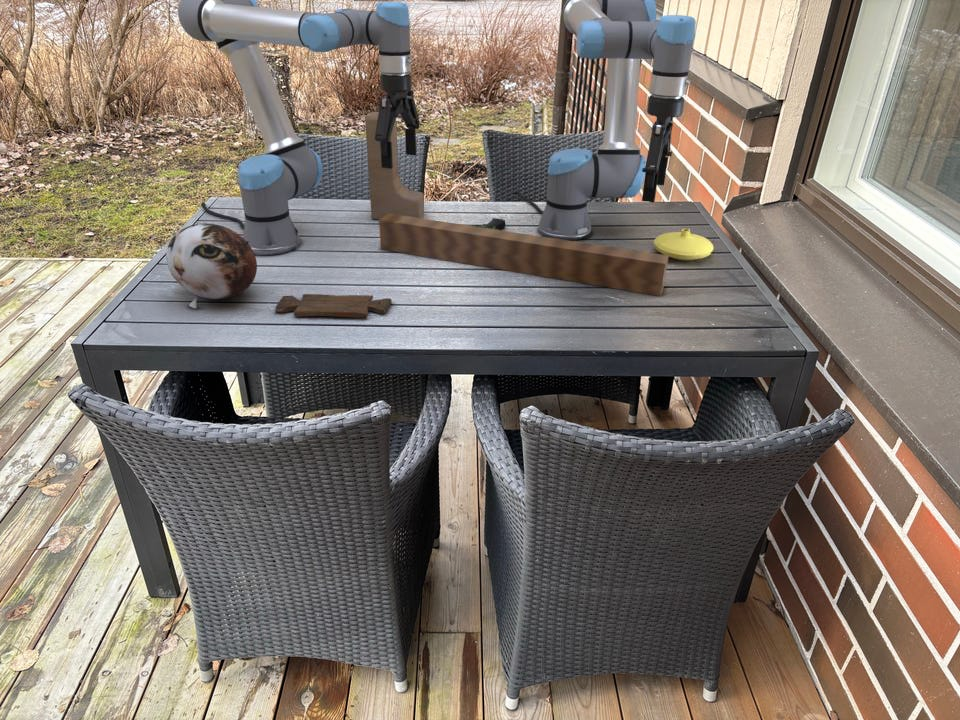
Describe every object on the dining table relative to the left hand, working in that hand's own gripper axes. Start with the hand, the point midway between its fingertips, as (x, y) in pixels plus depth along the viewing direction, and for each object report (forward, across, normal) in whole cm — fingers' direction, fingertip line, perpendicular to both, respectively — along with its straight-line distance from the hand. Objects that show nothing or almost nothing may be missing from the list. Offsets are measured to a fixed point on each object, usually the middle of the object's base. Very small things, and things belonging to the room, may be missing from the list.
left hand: (399, 161), depth 184 cm
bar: (+24, 0, -32) cm, 40 cm away
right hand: (0, 0, -65) cm, 65 cm away
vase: (+24, +26, -72) cm, 80 cm away
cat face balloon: (+24, -44, +27) cm, 57 cm away
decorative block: (+24, +22, +13) cm, 35 cm away
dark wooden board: (+24, -39, -2) cm, 46 cm away
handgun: (+24, +20, -14) cm, 34 cm away
